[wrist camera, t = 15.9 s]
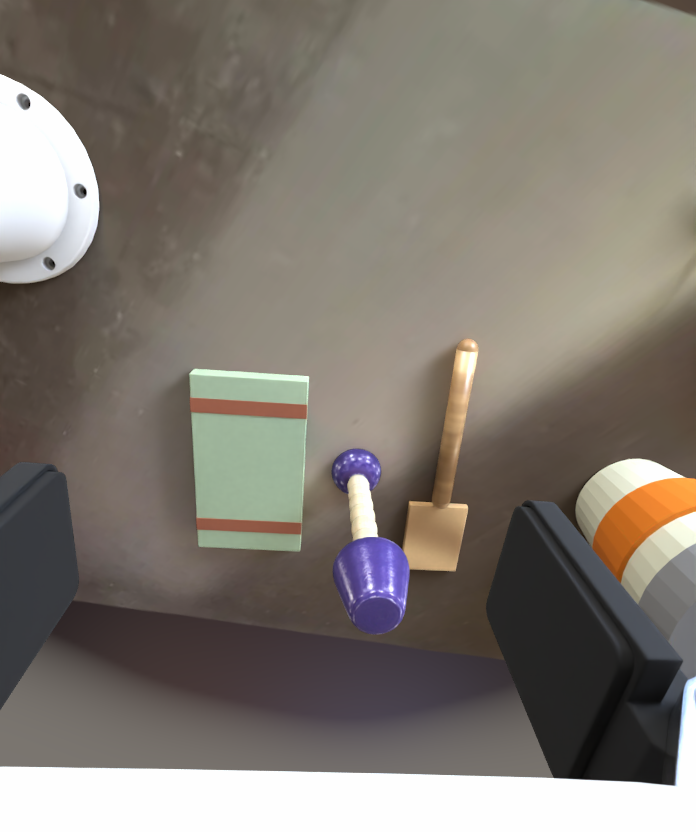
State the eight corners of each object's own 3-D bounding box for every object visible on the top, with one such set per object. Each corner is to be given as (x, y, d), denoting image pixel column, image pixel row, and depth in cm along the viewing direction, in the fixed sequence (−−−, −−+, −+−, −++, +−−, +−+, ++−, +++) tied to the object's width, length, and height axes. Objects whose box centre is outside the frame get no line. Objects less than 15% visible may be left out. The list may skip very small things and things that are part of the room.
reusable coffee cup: (526, 516, 43) (618, 657, 29) (632, 412, 39) (795, 516, 25) (618, 579, 46) (741, 733, 32) (724, 488, 42) (915, 617, 28)
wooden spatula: (453, 566, 45) (457, 578, 43) (399, 564, 45) (401, 575, 43) (499, 339, 37) (506, 343, 35) (433, 334, 36) (437, 339, 35)
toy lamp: (344, 436, 39) (350, 573, 24) (395, 453, 40) (433, 596, 25) (324, 483, 41) (319, 640, 26) (374, 498, 42) (398, 660, 26)
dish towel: (201, 537, 43) (197, 547, 41) (193, 368, 37) (188, 373, 35) (301, 542, 43) (300, 552, 42) (309, 376, 37) (308, 381, 36)
